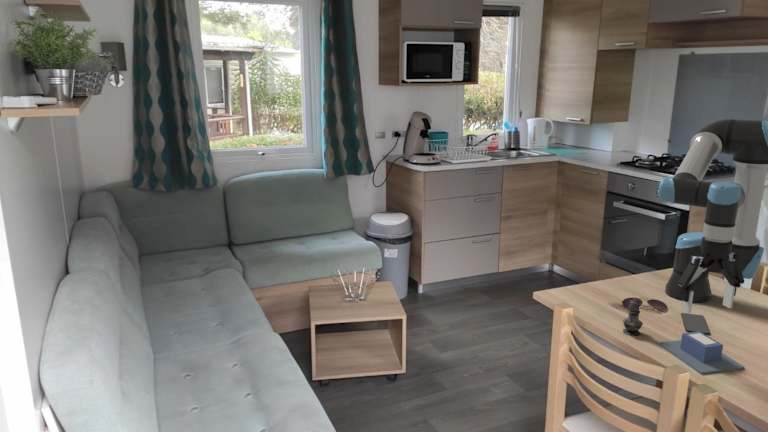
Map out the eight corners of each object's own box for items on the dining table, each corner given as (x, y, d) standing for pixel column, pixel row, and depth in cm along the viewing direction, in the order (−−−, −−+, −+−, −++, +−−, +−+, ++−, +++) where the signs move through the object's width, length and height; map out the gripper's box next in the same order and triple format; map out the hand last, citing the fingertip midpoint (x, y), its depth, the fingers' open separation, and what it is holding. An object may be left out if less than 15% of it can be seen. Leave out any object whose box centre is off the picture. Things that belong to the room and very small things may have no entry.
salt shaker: (631, 338, 183) (635, 302, 179) (617, 330, 188) (621, 295, 185) (645, 334, 185) (650, 299, 182) (631, 327, 190) (635, 292, 187)
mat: (698, 339, 181) (698, 337, 181) (744, 368, 164) (744, 366, 164) (658, 344, 178) (658, 342, 178) (701, 374, 161) (701, 372, 161)
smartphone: (703, 315, 198) (710, 333, 184) (703, 317, 198) (709, 336, 184) (680, 312, 200) (685, 330, 186) (680, 314, 200) (685, 332, 187)
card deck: (720, 360, 168) (723, 344, 166) (703, 363, 166) (705, 347, 165) (696, 346, 176) (699, 330, 175) (680, 348, 174) (682, 333, 173)
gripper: (745, 231, 168) (733, 299, 174) (668, 237, 163) (659, 307, 169) (766, 239, 161) (754, 309, 167) (687, 246, 156) (677, 319, 162)
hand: (706, 309), depth 168 cm, fingers open, 13 cm apart
